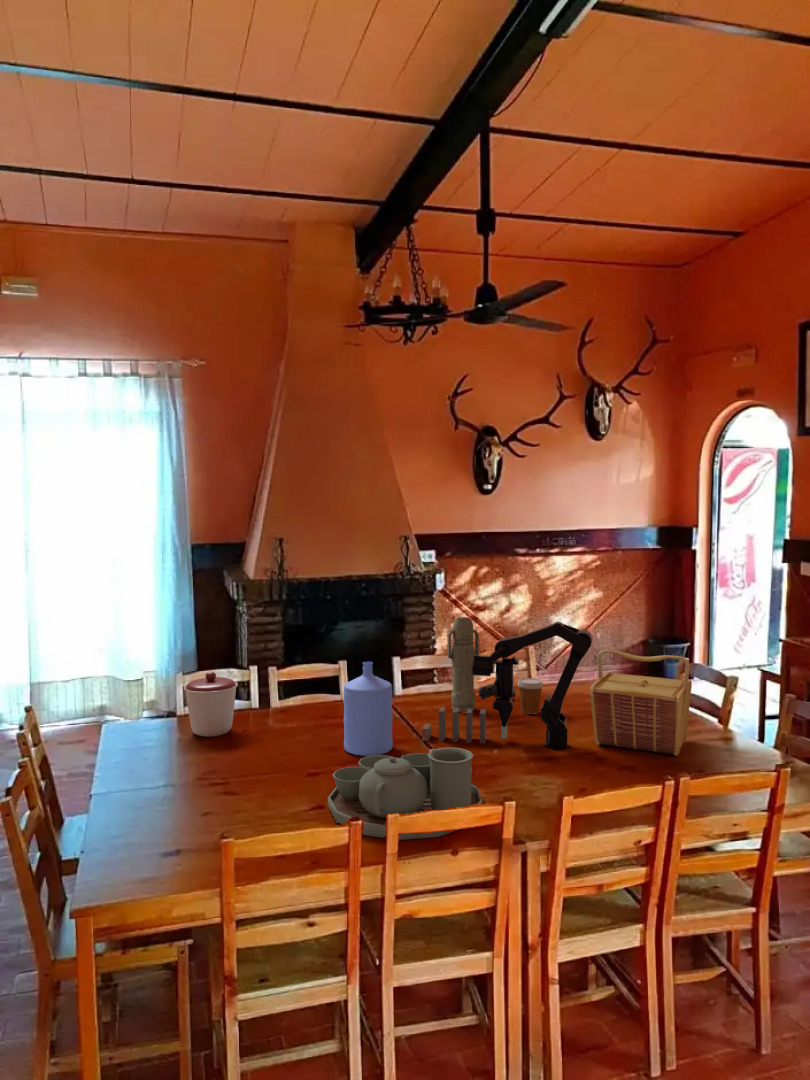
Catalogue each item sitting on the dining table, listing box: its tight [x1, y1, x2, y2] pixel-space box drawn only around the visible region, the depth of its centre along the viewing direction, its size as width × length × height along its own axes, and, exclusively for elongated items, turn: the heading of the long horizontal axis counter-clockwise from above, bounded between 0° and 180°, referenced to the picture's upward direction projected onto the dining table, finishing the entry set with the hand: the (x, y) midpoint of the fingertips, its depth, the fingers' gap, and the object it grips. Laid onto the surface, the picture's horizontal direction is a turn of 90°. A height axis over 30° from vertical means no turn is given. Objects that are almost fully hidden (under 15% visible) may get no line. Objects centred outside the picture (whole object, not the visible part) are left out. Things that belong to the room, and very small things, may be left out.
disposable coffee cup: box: [516, 677, 544, 714], centre depth 294 cm, size 10×10×12 cm
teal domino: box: [500, 723, 508, 740], centre depth 259 cm, size 2×5×10 cm, turn 169°
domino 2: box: [451, 708, 460, 743], centre depth 262 cm, size 2×5×10 cm, turn 169°
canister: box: [183, 671, 239, 738], centre depth 271 cm, size 18×18×21 cm
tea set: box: [327, 747, 484, 841], centre depth 205 cm, size 40×40×16 cm
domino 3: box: [465, 709, 474, 744], centre depth 261 cm, size 2×5×10 cm, turn 169°
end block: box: [421, 723, 432, 742], centre depth 264 cm, size 2×6×4 cm, turn 169°
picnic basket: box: [589, 649, 693, 757], centre depth 256 cm, size 29×26×30 cm
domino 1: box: [438, 706, 447, 742], centre depth 263 cm, size 2×5×10 cm, turn 169°
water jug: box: [342, 661, 394, 757], centre depth 253 cm, size 16×16×28 cm
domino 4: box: [479, 708, 487, 745], centre depth 260 cm, size 2×5×10 cm, turn 169°
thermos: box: [447, 616, 480, 712], centre depth 297 cm, size 9×12×35 cm
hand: (504, 724), depth 259 cm, fingers closed on teal domino, 5 cm apart
